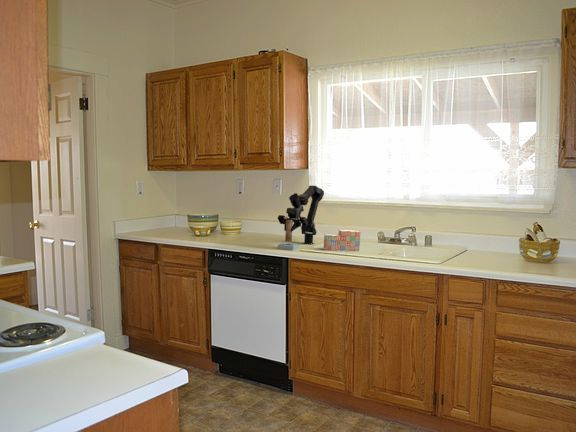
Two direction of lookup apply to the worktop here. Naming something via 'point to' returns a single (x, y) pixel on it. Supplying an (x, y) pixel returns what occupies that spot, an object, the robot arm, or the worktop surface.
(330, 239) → the stack of blocks
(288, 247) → the bead block
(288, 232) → the dowel
